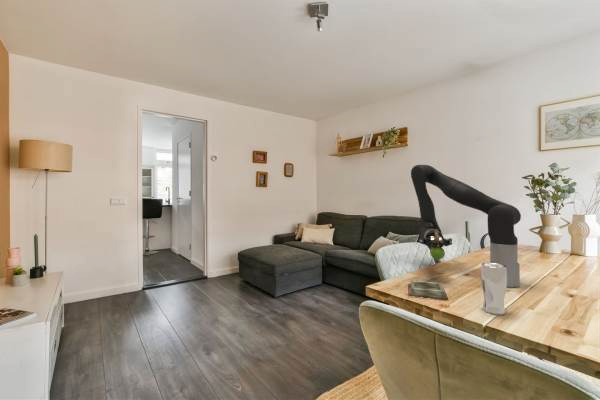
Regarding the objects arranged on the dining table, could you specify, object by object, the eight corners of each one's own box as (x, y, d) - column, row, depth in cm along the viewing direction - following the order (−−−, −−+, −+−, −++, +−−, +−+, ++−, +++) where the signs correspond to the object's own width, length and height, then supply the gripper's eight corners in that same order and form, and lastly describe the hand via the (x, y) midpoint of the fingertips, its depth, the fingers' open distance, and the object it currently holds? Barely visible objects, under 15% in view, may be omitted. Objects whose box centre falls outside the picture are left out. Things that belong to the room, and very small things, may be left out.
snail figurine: (443, 257, 117) (443, 229, 116) (445, 261, 111) (445, 231, 110) (429, 256, 118) (429, 229, 118) (431, 260, 112) (431, 231, 112)
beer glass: (511, 316, 85) (511, 268, 85) (486, 314, 87) (486, 267, 86) (500, 307, 92) (500, 262, 92) (477, 306, 93) (477, 262, 93)
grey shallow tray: (443, 289, 110) (443, 282, 109) (448, 300, 98) (448, 292, 98) (408, 286, 114) (408, 279, 114) (408, 296, 103) (408, 289, 103)
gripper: (417, 229, 130) (419, 235, 114) (450, 230, 125) (457, 236, 109) (417, 245, 130) (419, 253, 114) (450, 246, 125) (457, 254, 109)
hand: (438, 244), depth 112 cm, fingers closed on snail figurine
